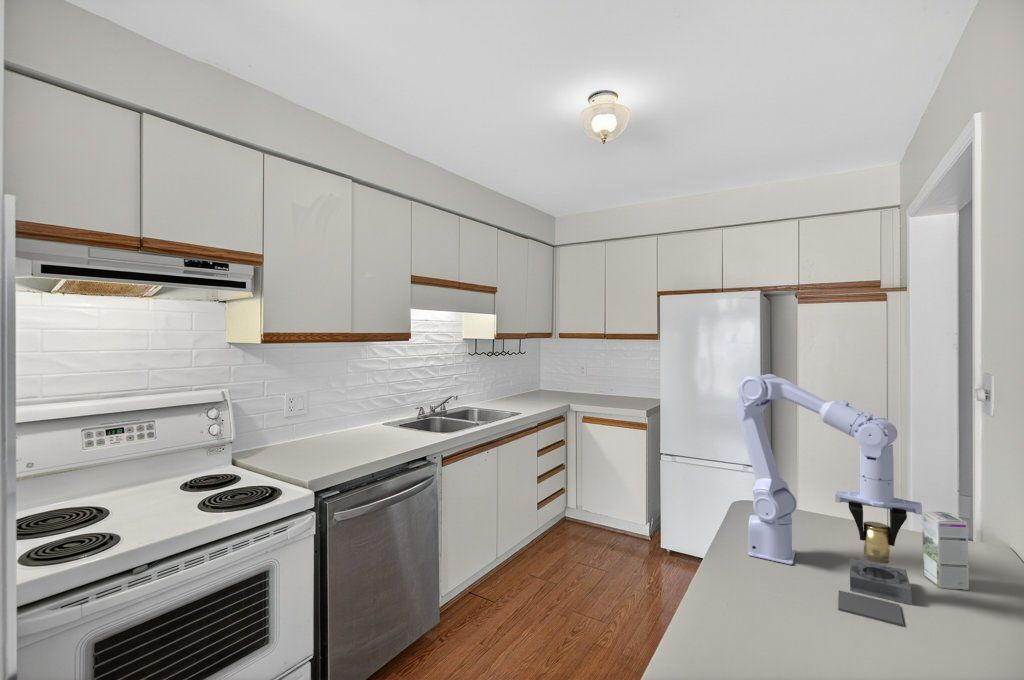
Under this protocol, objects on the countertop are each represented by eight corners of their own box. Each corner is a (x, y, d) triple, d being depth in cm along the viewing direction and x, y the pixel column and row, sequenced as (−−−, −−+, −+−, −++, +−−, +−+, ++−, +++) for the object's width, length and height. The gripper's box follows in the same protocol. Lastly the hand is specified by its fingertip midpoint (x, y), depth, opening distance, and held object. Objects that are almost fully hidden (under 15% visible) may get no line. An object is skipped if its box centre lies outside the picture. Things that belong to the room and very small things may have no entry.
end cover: (864, 560, 102) (864, 526, 102) (863, 552, 105) (863, 519, 105) (891, 565, 99) (890, 530, 99) (889, 557, 103) (888, 524, 103)
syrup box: (970, 590, 102) (970, 521, 102) (937, 588, 103) (937, 520, 103) (951, 577, 108) (951, 512, 108) (921, 575, 109) (920, 510, 109)
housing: (850, 590, 103) (850, 576, 103) (849, 571, 111) (849, 558, 111) (911, 604, 97) (911, 589, 97) (906, 583, 105) (905, 569, 105)
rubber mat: (838, 609, 95) (838, 607, 95) (838, 592, 102) (838, 590, 102) (903, 626, 90) (903, 624, 90) (899, 606, 96) (899, 604, 96)
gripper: (834, 476, 103) (835, 540, 103) (924, 487, 95) (924, 557, 95) (834, 468, 109) (835, 529, 109) (919, 478, 101) (919, 544, 101)
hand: (876, 541), depth 102 cm, fingers closed on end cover, 4 cm apart
